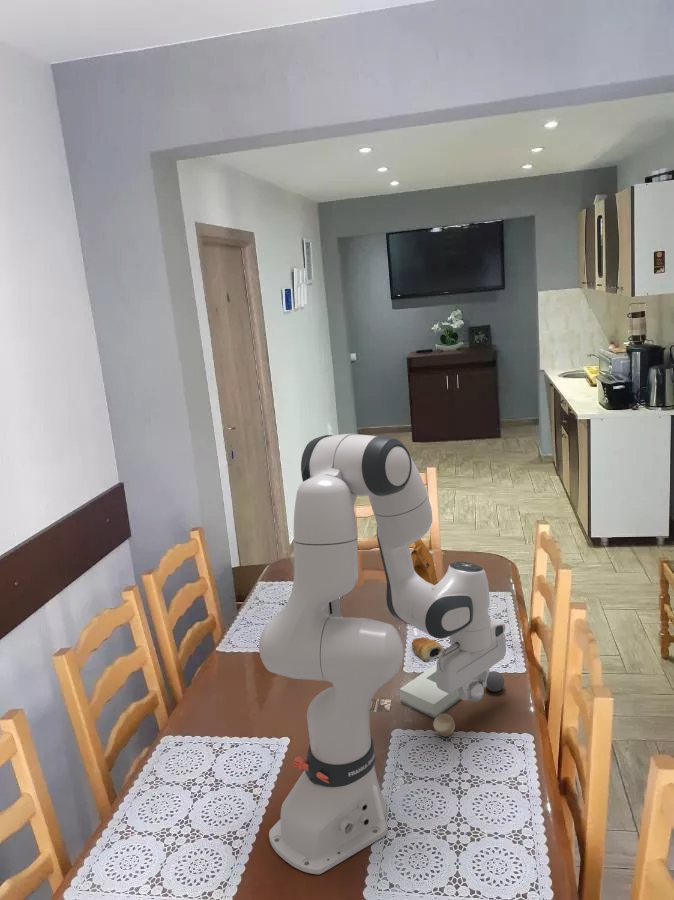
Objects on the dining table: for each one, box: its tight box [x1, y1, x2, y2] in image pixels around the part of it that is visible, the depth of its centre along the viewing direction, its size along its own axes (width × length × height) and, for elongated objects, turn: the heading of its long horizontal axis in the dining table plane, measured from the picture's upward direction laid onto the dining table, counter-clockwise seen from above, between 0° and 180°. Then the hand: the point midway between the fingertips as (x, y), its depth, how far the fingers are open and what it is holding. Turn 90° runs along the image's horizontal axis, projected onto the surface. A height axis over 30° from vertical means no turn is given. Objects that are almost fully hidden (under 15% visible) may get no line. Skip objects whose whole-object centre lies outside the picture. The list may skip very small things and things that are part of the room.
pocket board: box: [399, 663, 479, 719], centre depth 168 cm, size 20×10×4 cm, turn 134°
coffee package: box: [410, 538, 438, 585], centre depth 203 cm, size 10×12×22 cm
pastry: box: [411, 637, 445, 662], centre depth 186 cm, size 9×7×4 cm
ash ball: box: [432, 713, 456, 737], centre depth 152 cm, size 4×4×4 cm
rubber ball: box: [485, 670, 505, 693], centre depth 166 cm, size 4×4×4 cm
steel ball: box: [465, 680, 485, 702], centre depth 157 cm, size 4×4×4 cm
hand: (473, 692), depth 157 cm, fingers closed on steel ball, 4 cm apart
